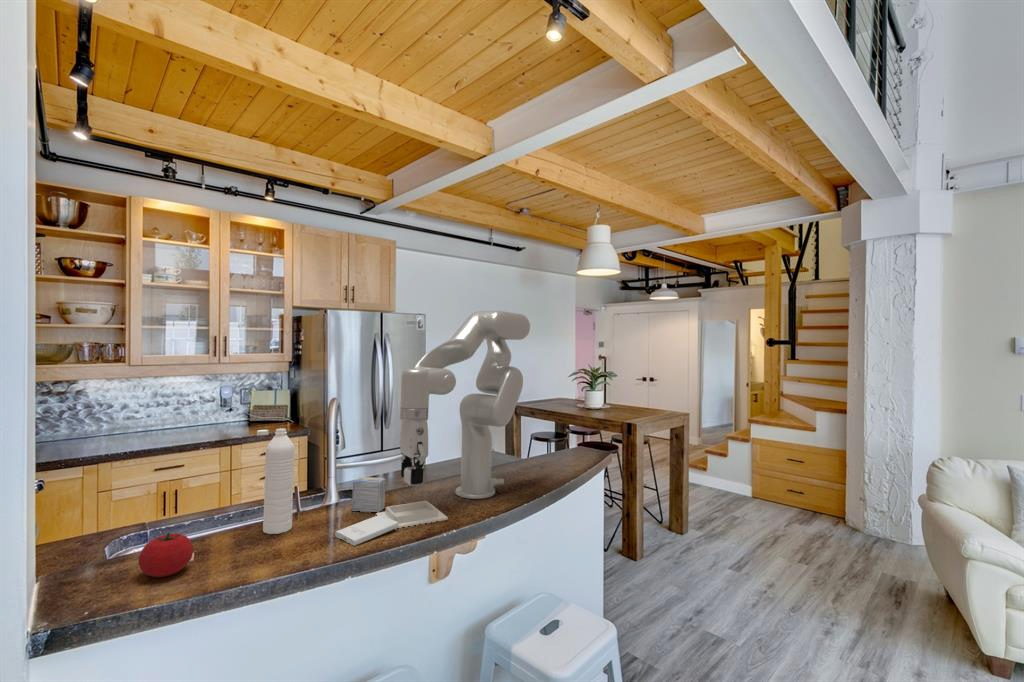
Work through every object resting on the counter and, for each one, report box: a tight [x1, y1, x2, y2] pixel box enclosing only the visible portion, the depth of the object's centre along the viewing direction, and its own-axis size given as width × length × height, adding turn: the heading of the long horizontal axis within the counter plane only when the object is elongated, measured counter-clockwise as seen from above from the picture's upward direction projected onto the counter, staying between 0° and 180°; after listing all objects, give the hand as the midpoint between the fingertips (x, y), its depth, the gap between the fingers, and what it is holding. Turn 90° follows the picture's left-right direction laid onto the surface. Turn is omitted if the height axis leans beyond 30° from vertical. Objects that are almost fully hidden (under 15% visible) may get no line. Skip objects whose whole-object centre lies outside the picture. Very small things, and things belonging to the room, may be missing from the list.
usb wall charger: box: [403, 467, 425, 487], centre depth 126 cm, size 4×7×4 cm, turn 35°
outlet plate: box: [375, 500, 449, 530], centre depth 126 cm, size 16×12×2 cm
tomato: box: [137, 532, 194, 578], centre depth 93 cm, size 9×9×8 cm
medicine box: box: [351, 476, 386, 513], centre depth 131 cm, size 8×4×9 cm, turn 84°
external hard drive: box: [334, 515, 398, 547], centre depth 114 cm, size 2×8×12 cm
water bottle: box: [256, 427, 296, 535], centre depth 115 cm, size 9×6×25 cm
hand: (411, 479), depth 126 cm, fingers closed on usb wall charger, 7 cm apart
